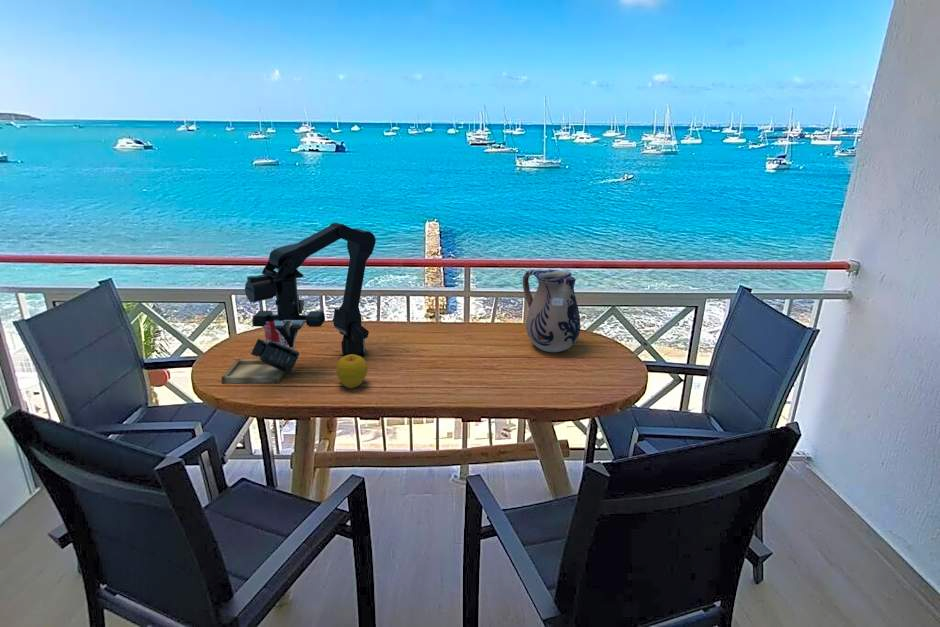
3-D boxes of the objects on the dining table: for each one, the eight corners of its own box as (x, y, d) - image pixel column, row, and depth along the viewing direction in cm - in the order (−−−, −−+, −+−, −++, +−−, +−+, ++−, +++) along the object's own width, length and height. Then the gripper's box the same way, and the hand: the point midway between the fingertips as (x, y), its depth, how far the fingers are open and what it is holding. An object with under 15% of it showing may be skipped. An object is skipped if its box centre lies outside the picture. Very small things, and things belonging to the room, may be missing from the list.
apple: (374, 385, 152) (373, 357, 149) (348, 395, 147) (346, 366, 144) (357, 375, 158) (355, 347, 155) (331, 384, 153) (329, 356, 150)
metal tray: (290, 364, 164) (289, 359, 163) (278, 383, 153) (277, 377, 152) (237, 364, 163) (237, 359, 163) (222, 383, 152) (221, 377, 152)
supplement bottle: (289, 373, 159) (249, 357, 156) (299, 352, 161) (260, 335, 158) (290, 374, 153) (248, 357, 150) (300, 351, 154) (259, 334, 151)
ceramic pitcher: (566, 363, 169) (572, 285, 160) (505, 347, 179) (509, 274, 170) (586, 344, 183) (593, 272, 174) (529, 331, 193) (533, 262, 184)
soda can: (293, 345, 178) (290, 310, 174) (284, 353, 171) (280, 318, 167) (272, 343, 179) (268, 309, 174) (263, 352, 172) (258, 317, 168)
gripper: (327, 286, 158) (330, 336, 163) (261, 285, 157) (267, 335, 163) (318, 298, 148) (322, 351, 153) (248, 297, 147) (255, 351, 152)
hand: (291, 346), depth 155 cm, fingers closed
